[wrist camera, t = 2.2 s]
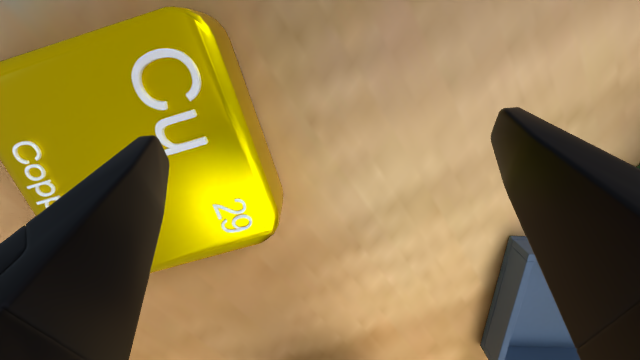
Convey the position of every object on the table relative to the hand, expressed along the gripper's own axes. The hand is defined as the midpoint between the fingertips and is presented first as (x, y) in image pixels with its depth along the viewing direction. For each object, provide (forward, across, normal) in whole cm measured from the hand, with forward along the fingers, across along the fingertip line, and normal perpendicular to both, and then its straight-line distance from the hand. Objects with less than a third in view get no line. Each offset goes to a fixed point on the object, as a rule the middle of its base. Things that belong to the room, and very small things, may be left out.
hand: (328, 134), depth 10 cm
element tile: (+13, +12, +10) cm, 20 cm away
